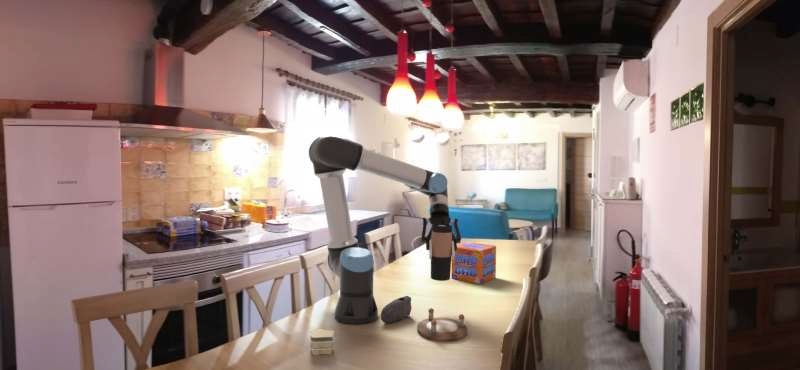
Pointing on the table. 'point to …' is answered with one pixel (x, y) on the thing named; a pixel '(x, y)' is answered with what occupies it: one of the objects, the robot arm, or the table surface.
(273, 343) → the table surface
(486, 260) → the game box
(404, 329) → the table surface
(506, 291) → the table surface
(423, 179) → the robot arm
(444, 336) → the brown round pegged stand
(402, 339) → the table surface
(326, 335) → the beige layered block
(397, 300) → the perforated stone tool
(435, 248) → the travel mug
